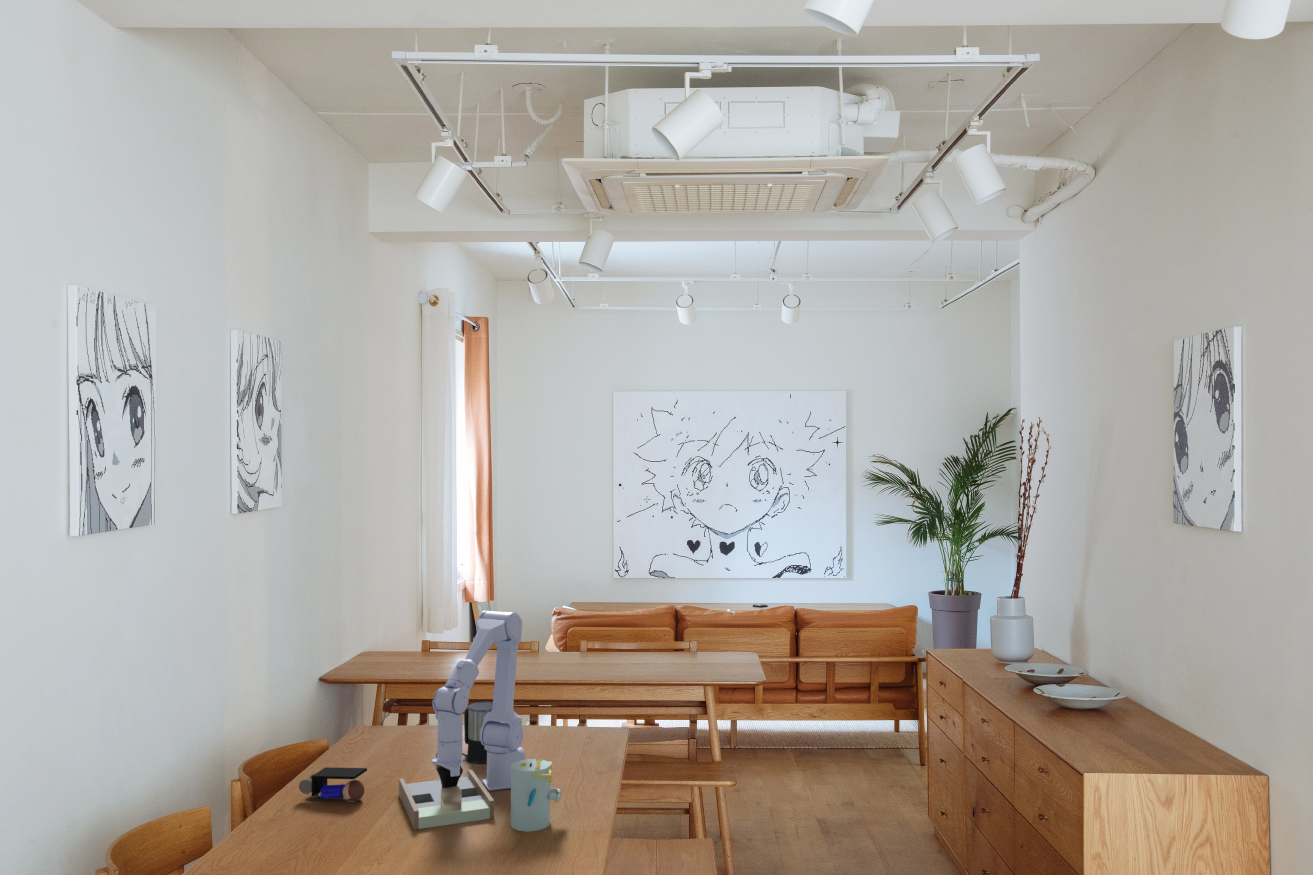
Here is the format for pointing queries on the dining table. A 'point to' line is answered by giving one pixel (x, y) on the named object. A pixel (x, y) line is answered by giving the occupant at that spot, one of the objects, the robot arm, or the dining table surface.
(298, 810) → the dining table surface
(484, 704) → the milk frother
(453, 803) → the block
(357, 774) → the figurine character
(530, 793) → the pale blue upright cylinder
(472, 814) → the box
